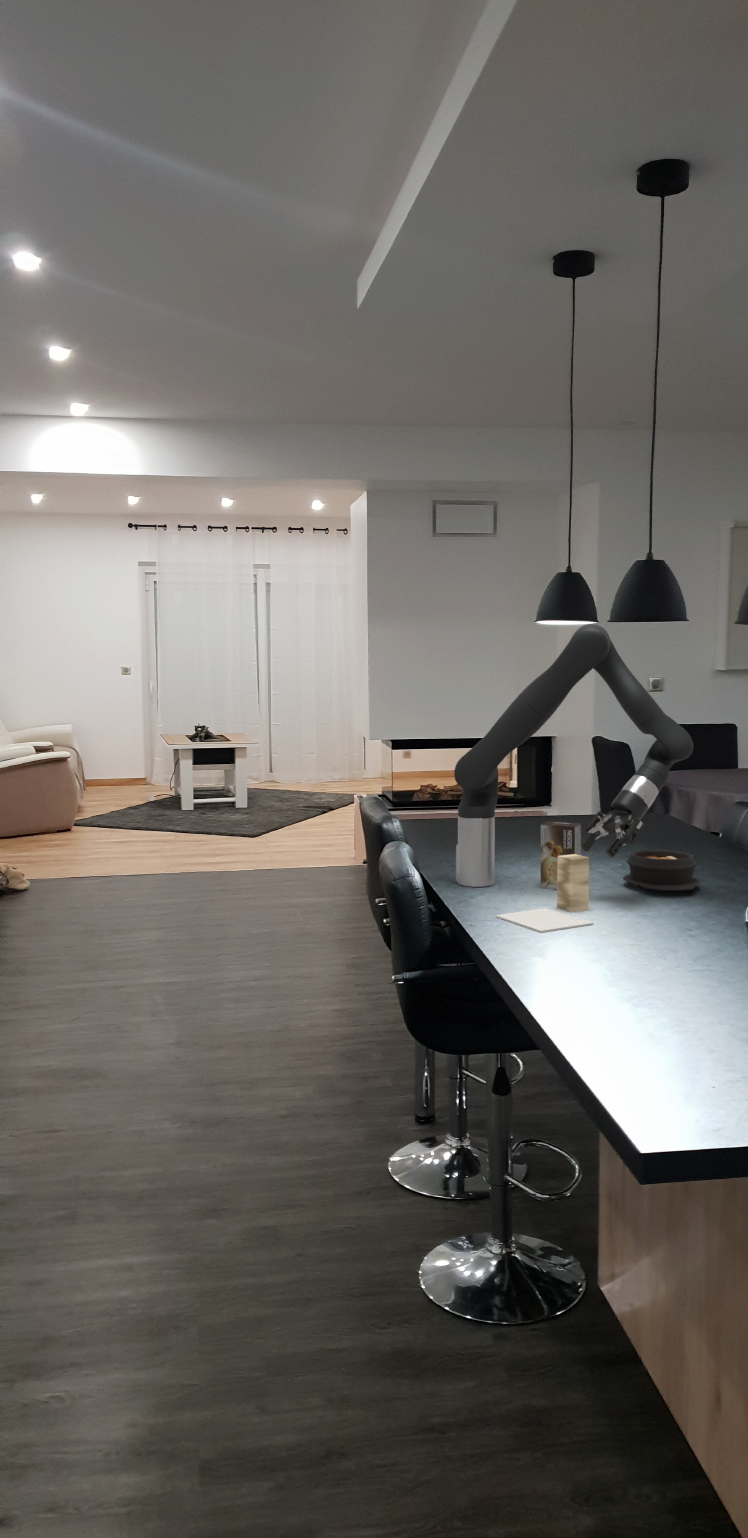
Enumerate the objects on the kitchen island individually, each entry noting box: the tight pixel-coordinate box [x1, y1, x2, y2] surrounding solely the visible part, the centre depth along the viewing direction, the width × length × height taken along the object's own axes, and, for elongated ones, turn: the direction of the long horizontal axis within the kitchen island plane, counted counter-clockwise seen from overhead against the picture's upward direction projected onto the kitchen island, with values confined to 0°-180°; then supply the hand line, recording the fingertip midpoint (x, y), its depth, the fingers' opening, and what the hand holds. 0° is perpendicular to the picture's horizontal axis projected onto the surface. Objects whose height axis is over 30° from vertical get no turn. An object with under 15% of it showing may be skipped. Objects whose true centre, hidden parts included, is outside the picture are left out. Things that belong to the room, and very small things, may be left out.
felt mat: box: [495, 907, 594, 934], centre depth 230 cm, size 16×14×1 cm
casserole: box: [622, 849, 701, 892], centre depth 265 cm, size 25×19×8 cm
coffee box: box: [540, 820, 583, 890], centre depth 264 cm, size 9×6×16 cm
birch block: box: [556, 854, 590, 913], centre depth 241 cm, size 5×5×12 cm
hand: (596, 851), depth 243 cm, fingers open, 8 cm apart
